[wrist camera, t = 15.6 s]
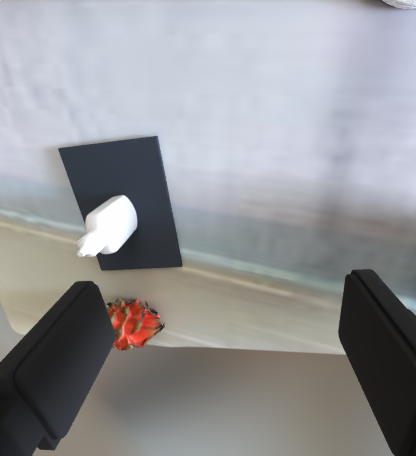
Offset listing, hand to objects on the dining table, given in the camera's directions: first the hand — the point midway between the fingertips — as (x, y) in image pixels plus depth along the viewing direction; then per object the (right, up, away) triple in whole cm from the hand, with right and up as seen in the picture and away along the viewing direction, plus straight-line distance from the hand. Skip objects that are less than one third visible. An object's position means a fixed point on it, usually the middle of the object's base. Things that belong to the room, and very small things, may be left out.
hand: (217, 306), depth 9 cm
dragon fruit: (-13, -12, +36) cm, 40 cm away
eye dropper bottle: (-13, +5, +28) cm, 31 cm away
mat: (-13, +5, +28) cm, 31 cm away
